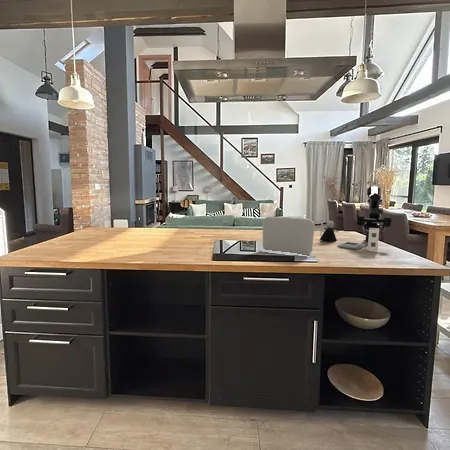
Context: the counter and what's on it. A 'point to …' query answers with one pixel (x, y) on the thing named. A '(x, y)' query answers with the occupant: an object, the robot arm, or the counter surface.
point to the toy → (328, 232)
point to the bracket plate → (352, 245)
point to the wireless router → (288, 235)
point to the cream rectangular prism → (373, 239)
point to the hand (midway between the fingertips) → (373, 231)
